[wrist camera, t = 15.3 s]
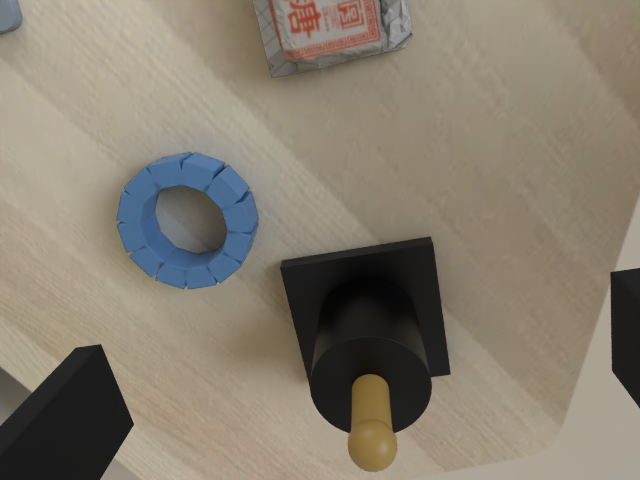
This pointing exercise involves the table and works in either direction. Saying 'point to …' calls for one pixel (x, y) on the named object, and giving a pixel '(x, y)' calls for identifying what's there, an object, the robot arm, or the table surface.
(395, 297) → the tape holder
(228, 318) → the table surface
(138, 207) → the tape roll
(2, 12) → the shower valve
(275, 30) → the packaged product
